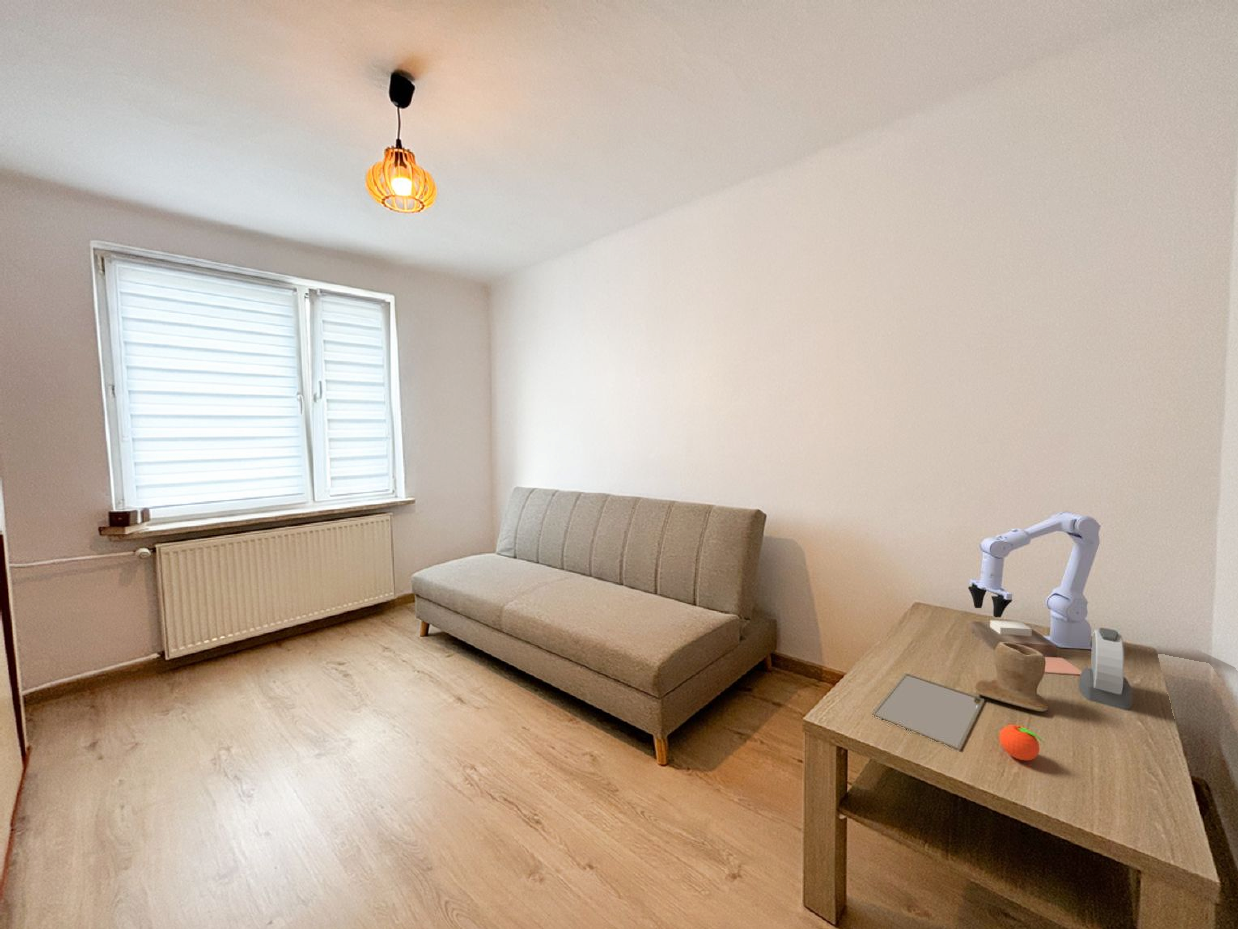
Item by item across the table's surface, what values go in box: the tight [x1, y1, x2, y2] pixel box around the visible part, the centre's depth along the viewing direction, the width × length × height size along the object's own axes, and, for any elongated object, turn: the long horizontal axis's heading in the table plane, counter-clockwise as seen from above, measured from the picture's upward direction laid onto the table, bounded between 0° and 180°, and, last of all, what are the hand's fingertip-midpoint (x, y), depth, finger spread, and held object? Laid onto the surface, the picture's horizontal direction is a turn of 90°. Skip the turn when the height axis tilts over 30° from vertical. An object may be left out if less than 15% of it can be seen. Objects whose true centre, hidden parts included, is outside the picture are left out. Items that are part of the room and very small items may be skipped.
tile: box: [989, 619, 1032, 636], centre depth 159 cm, size 9×6×2 cm, turn 78°
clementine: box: [998, 724, 1047, 761], centre depth 106 cm, size 8×7×7 cm
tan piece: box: [973, 642, 1049, 712], centre depth 127 cm, size 15×12×15 cm
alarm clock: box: [1078, 627, 1134, 711], centre depth 128 cm, size 16×10×18 cm, turn 137°
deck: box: [971, 621, 1057, 658], centre depth 158 cm, size 16×16×4 cm
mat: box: [1044, 657, 1083, 676], centre depth 144 cm, size 18×10×1 cm, turn 78°
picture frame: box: [870, 672, 986, 752], centre depth 125 cm, size 19×1×28 cm
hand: (987, 612), depth 160 cm, fingers open, 7 cm apart
